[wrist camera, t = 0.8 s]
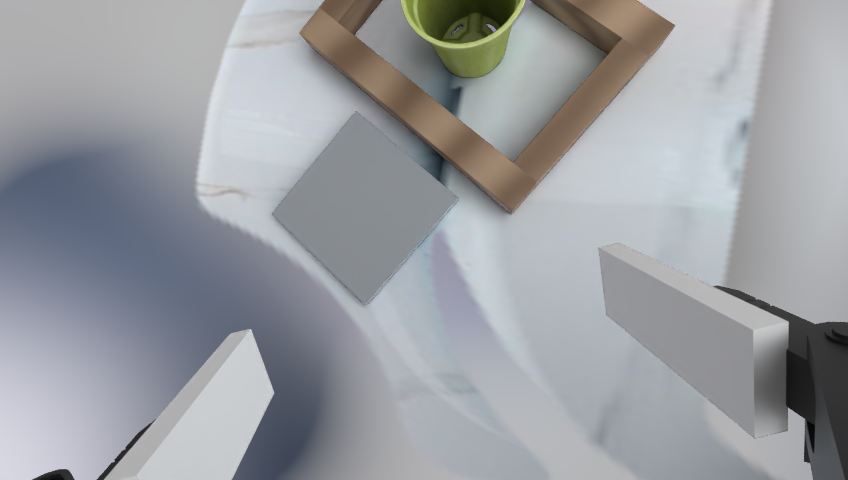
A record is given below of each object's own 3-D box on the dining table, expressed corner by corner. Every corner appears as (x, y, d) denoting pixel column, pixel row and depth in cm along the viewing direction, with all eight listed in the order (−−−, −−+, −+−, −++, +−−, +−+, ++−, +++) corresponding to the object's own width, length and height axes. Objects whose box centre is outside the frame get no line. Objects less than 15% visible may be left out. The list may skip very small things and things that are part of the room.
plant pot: (469, 117, 37) (459, 73, 29) (403, 52, 39) (375, -8, 30) (546, 44, 36) (559, -24, 28) (475, -20, 38) (466, -103, 29)
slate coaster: (459, 199, 37) (457, 197, 36) (368, 303, 38) (364, 304, 37) (359, 114, 39) (356, 111, 38) (277, 215, 40) (271, 214, 39)
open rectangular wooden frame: (660, 46, 34) (675, 25, 31) (511, 214, 36) (512, 209, 33) (436, -104, 39) (431, -134, 36) (313, 49, 41) (299, 32, 38)
